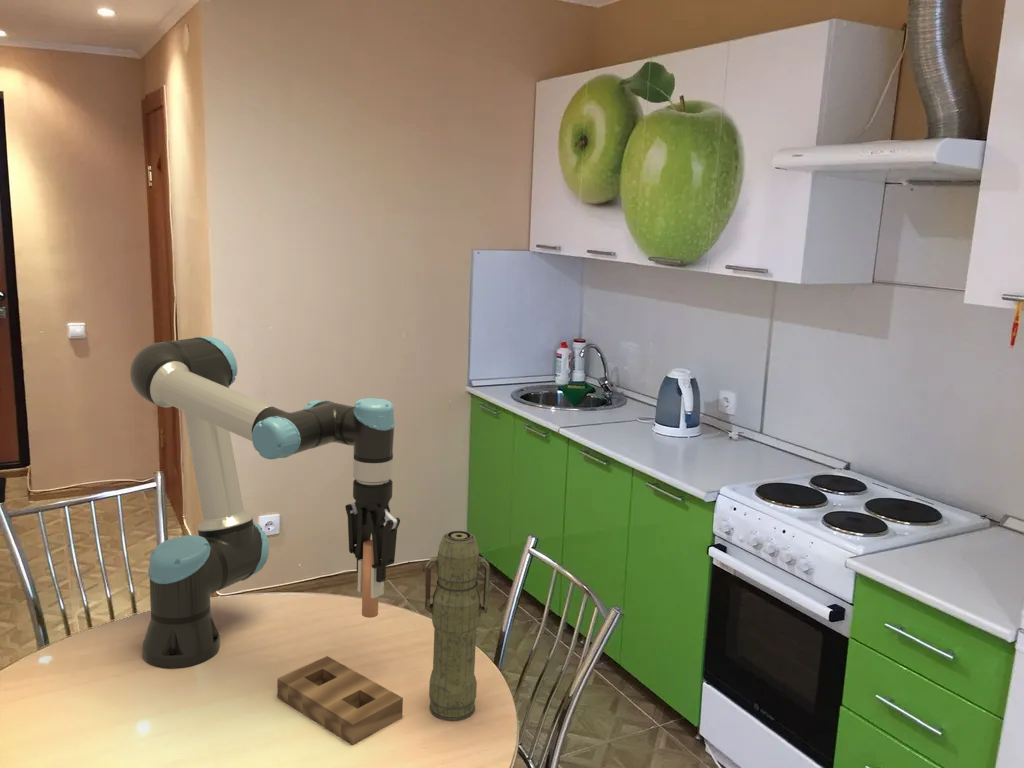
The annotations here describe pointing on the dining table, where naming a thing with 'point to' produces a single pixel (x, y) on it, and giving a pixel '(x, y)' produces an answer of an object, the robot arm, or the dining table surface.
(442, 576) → the thermos
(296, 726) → the dining table surface
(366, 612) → the peg
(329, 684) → the hole block
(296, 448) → the robot arm
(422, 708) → the dining table surface
